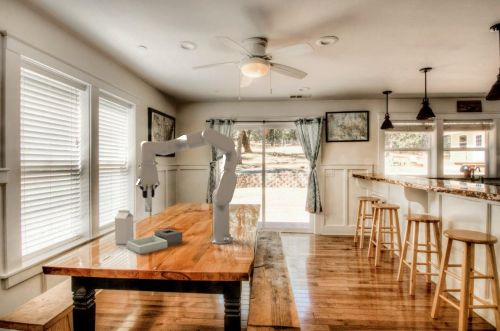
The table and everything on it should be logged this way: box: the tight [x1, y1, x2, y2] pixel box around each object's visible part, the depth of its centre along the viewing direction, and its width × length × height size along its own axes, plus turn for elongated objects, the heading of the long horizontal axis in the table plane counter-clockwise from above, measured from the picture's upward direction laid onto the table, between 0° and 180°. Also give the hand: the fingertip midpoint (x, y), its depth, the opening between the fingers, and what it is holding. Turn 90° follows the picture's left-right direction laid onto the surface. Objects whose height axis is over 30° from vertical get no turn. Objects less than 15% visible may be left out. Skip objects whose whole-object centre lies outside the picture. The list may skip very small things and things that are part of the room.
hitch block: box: [153, 227, 183, 247], centre depth 166 cm, size 14×10×6 cm
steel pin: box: [144, 185, 153, 213], centre depth 156 cm, size 4×4×16 cm
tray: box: [126, 235, 168, 256], centre depth 155 cm, size 16×16×4 cm
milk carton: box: [114, 209, 135, 245], centre depth 166 cm, size 7×7×19 cm
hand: (148, 197), depth 156 cm, fingers closed on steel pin, 3 cm apart
